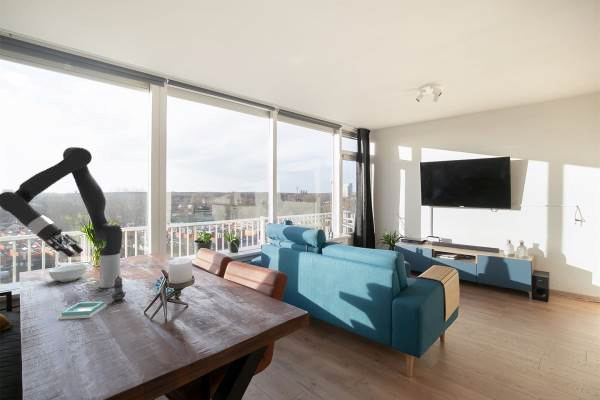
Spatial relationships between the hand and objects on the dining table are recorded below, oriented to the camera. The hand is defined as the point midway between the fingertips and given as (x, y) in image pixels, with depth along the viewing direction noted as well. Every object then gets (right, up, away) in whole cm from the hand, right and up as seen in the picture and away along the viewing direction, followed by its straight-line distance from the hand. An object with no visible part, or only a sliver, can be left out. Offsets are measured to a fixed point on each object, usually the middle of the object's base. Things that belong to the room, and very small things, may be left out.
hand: (76, 253), depth 126 cm
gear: (+32, -23, +18) cm, 43 cm away
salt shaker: (+15, -23, +5) cm, 28 cm away
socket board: (+9, -23, -7) cm, 26 cm away
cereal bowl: (-35, -23, +39) cm, 57 cm away
